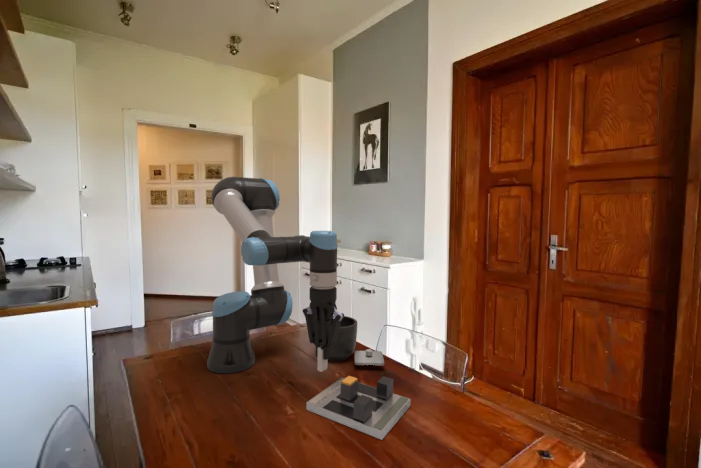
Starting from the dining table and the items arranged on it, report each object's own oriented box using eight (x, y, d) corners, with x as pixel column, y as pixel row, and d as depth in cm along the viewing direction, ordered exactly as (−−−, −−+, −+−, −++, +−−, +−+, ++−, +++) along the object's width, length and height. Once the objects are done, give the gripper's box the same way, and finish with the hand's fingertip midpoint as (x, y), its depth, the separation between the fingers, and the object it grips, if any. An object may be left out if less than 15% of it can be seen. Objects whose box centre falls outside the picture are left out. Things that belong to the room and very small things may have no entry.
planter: (333, 346, 137) (334, 313, 136) (364, 355, 129) (365, 320, 128) (309, 358, 125) (309, 322, 124) (340, 369, 117) (341, 330, 116)
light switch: (384, 371, 117) (385, 356, 116) (354, 370, 117) (354, 355, 116) (381, 358, 126) (382, 344, 126) (354, 358, 126) (354, 344, 126)
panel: (306, 409, 93) (306, 386, 93) (341, 383, 107) (342, 363, 107) (381, 440, 82) (382, 413, 81) (410, 406, 96) (411, 383, 95)
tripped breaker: (340, 397, 95) (340, 381, 95) (348, 391, 98) (348, 375, 98) (349, 400, 94) (350, 384, 93) (357, 394, 97) (358, 378, 97)
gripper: (296, 285, 99) (295, 368, 100) (334, 291, 92) (334, 380, 94) (312, 281, 106) (312, 359, 107) (350, 286, 99) (349, 370, 100)
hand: (322, 369), depth 100 cm, fingers closed
